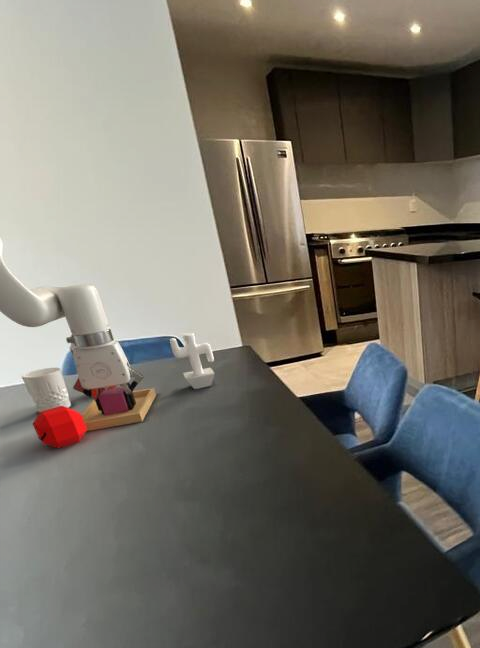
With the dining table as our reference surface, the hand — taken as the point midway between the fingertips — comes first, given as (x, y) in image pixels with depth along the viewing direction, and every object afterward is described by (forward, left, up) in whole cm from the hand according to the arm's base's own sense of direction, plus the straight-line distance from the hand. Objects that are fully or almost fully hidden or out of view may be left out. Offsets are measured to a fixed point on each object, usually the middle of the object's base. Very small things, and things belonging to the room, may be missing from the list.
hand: (118, 409), depth 122 cm
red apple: (-7, -15, -1) cm, 17 cm away
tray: (0, 0, -1) cm, 1 cm away
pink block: (0, 0, 0) cm, 0 cm away
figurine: (+18, +12, -1) cm, 22 cm away
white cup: (-17, +12, -1) cm, 21 cm away
